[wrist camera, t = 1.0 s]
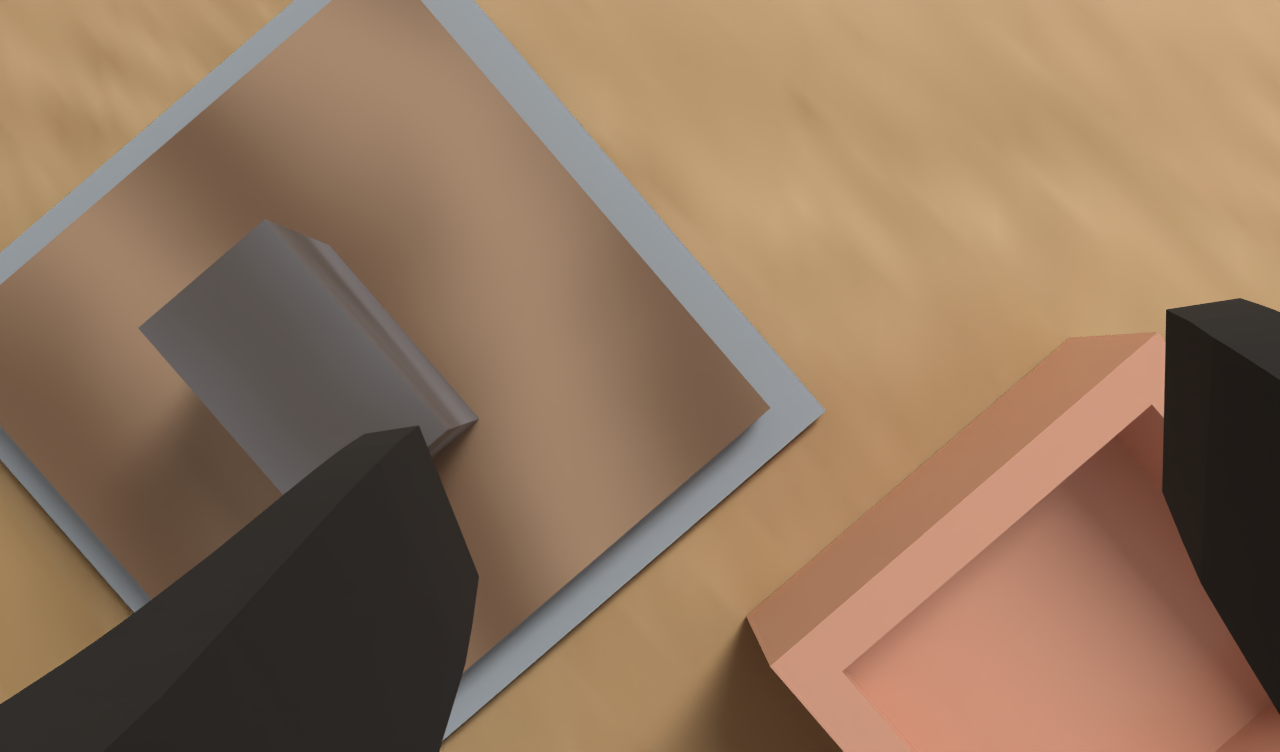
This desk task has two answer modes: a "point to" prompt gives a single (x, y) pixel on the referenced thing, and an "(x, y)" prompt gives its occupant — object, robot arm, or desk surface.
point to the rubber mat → (625, 212)
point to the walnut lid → (360, 322)
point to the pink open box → (1024, 589)
